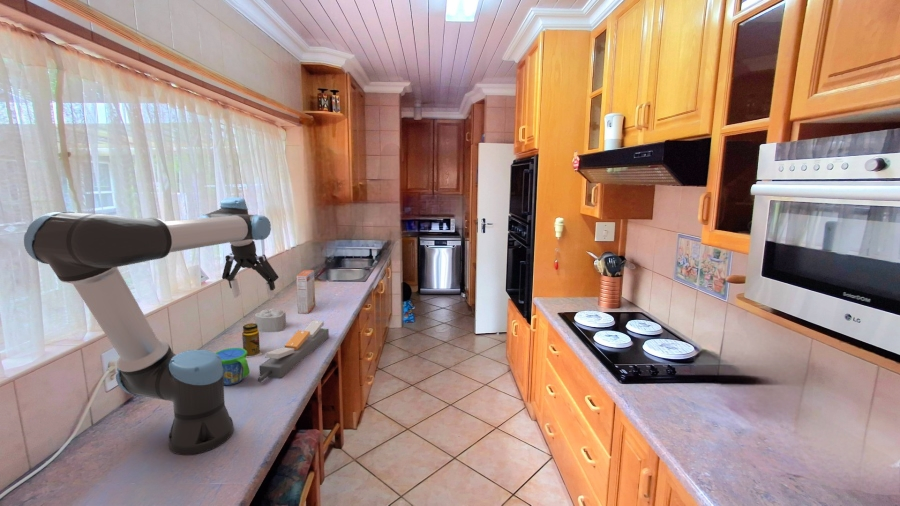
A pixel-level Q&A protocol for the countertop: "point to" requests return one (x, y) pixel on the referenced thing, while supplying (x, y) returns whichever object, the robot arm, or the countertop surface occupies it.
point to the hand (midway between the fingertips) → (254, 296)
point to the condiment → (251, 340)
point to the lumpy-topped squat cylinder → (270, 320)
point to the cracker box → (305, 291)
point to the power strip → (291, 357)
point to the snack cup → (234, 365)
